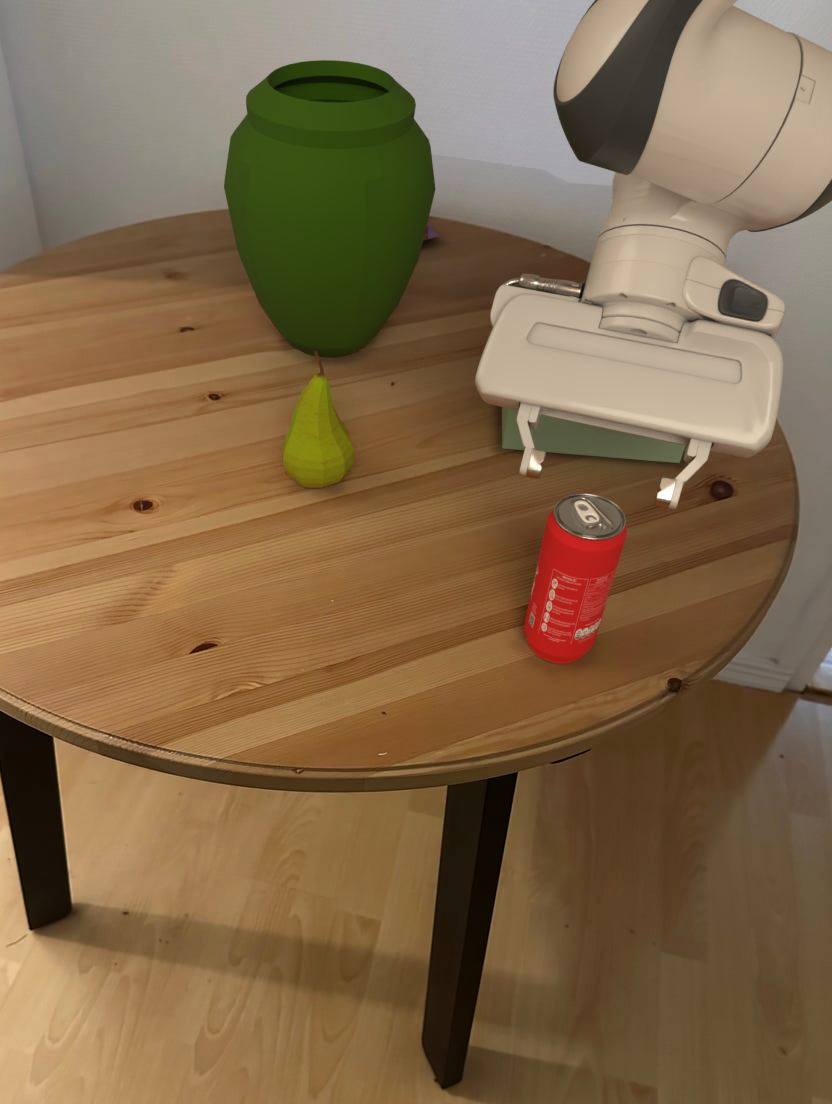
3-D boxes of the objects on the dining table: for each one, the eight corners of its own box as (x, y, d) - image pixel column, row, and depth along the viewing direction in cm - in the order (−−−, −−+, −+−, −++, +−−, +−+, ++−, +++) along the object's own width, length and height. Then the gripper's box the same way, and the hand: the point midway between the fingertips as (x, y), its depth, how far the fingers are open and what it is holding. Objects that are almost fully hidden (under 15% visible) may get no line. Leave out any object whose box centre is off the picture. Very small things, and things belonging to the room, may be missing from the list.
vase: (437, 308, 107) (462, 59, 90) (399, 403, 94) (419, 133, 77) (266, 282, 110) (258, 36, 93) (206, 371, 97) (183, 104, 80)
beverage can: (538, 673, 71) (569, 546, 62) (511, 623, 74) (537, 496, 65) (604, 661, 72) (644, 534, 63) (574, 612, 75) (608, 485, 66)
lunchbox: (667, 398, 96) (686, 336, 91) (683, 468, 88) (704, 404, 84) (499, 385, 97) (509, 323, 92) (499, 453, 89) (510, 389, 84)
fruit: (319, 512, 83) (320, 387, 74) (266, 481, 85) (261, 357, 77) (368, 478, 86) (375, 355, 77) (316, 450, 89) (316, 327, 80)
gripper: (498, 251, 67) (446, 450, 67) (812, 307, 63) (753, 518, 63) (503, 285, 73) (456, 466, 74) (789, 337, 69) (736, 530, 69)
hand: (596, 491), depth 68 cm, fingers open, 8 cm apart
